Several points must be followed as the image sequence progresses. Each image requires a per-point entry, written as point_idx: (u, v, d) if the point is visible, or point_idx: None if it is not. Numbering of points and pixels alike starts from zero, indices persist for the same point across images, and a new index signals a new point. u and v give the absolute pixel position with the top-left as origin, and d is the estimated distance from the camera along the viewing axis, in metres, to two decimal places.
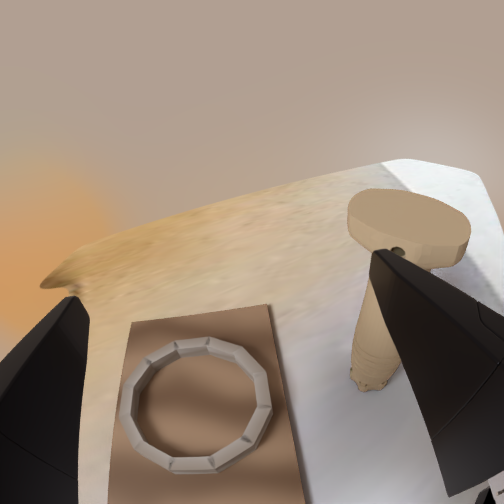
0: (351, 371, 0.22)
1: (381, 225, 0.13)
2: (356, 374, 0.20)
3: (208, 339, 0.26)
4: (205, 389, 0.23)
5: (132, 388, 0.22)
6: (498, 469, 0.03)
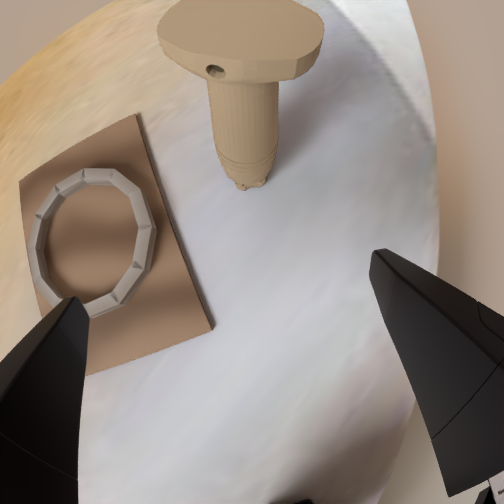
0: (226, 171, 0.23)
1: (192, 42, 0.09)
2: (229, 176, 0.21)
3: (83, 171, 0.22)
4: (93, 222, 0.23)
5: (34, 250, 0.21)
6: (498, 469, 0.03)
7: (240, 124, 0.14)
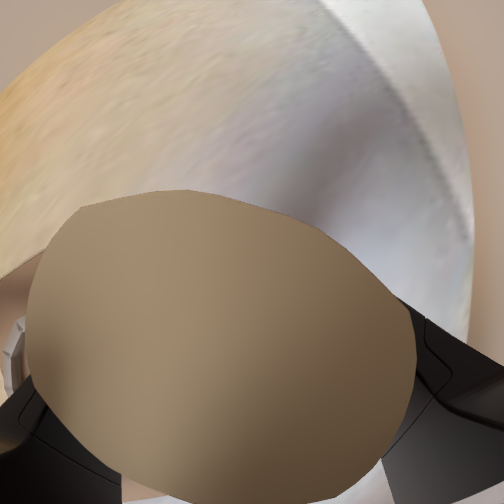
0: None
1: (107, 443, 0.04)
2: None
3: None
4: None
5: (12, 391, 0.16)
6: (440, 503, 0.03)
7: None
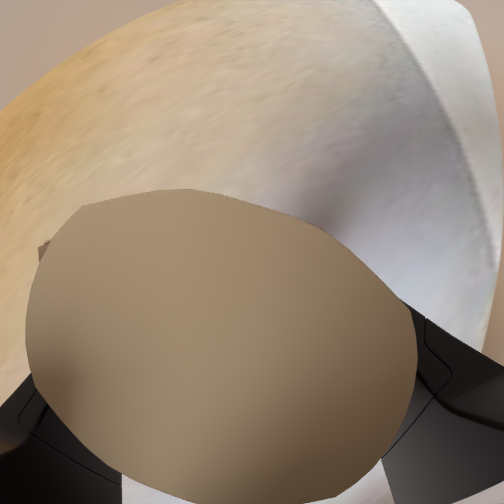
0: None
1: (109, 442, 0.04)
2: None
3: None
4: None
5: None
6: (440, 503, 0.03)
7: None
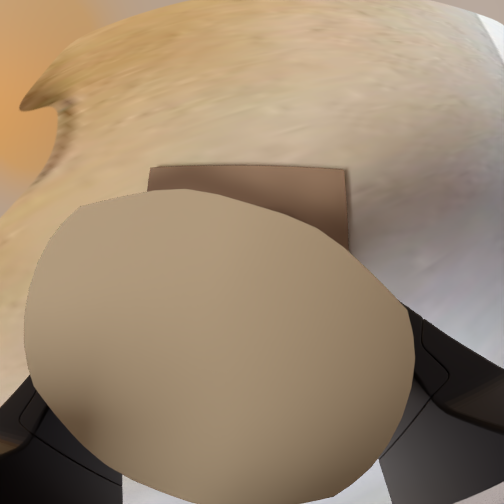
0: None
1: (107, 441, 0.04)
2: None
3: None
4: None
5: None
6: None
7: None
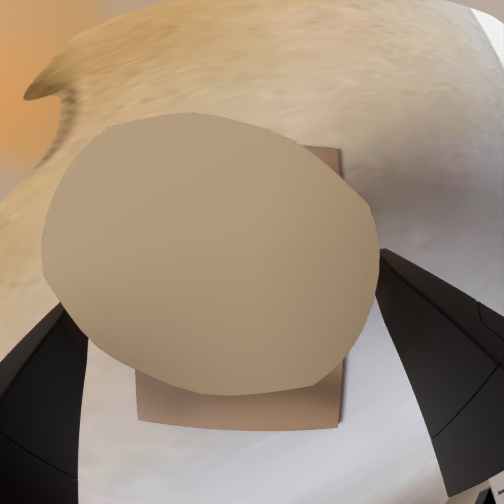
0: None
1: (103, 320, 0.05)
2: None
3: None
4: None
5: None
6: (498, 469, 0.03)
7: None
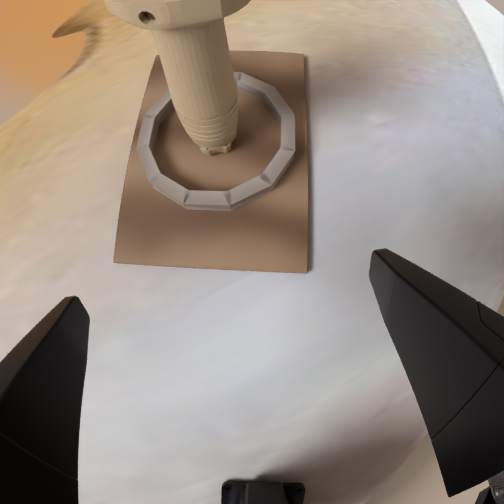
0: None
1: None
2: (192, 139, 0.20)
3: (239, 74, 0.22)
4: None
5: (153, 118, 0.22)
6: (498, 469, 0.03)
7: (187, 76, 0.13)
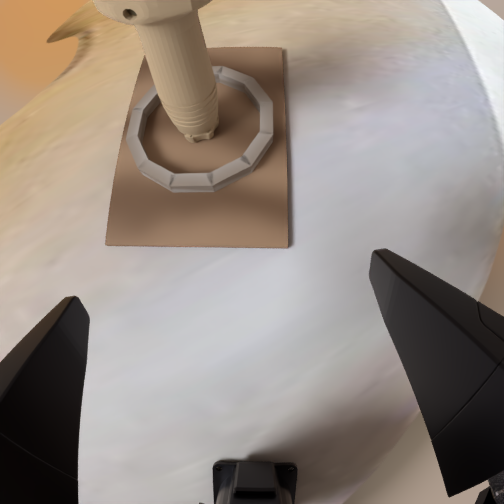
0: None
1: None
2: None
3: (220, 68, 0.24)
4: None
5: (141, 111, 0.23)
6: (498, 469, 0.03)
7: (167, 65, 0.14)
